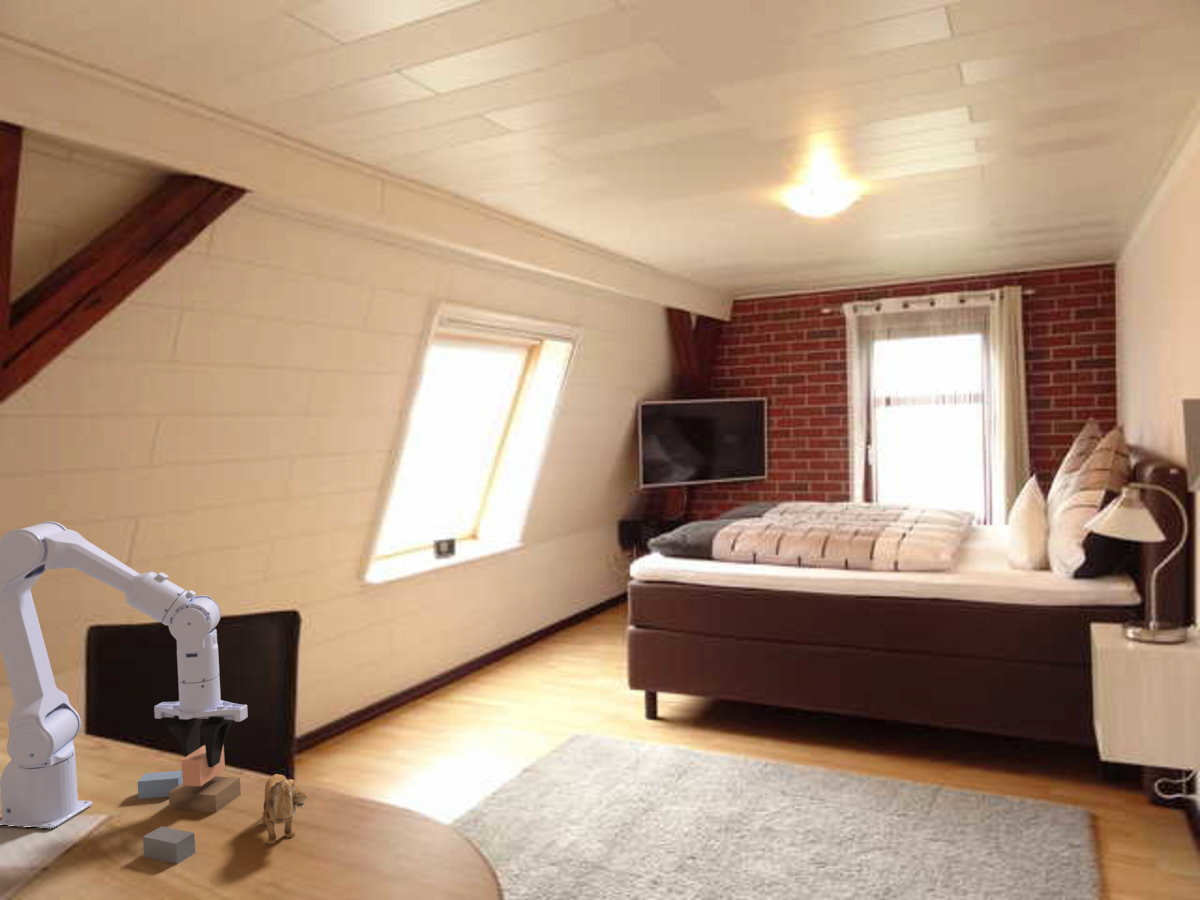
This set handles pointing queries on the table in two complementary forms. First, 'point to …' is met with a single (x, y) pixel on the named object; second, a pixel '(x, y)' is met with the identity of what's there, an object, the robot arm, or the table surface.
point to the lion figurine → (281, 805)
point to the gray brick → (169, 845)
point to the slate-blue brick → (158, 784)
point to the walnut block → (205, 795)
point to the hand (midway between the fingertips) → (203, 764)
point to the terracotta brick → (200, 768)
